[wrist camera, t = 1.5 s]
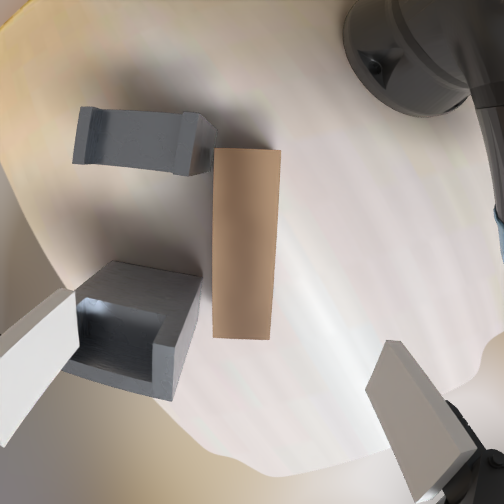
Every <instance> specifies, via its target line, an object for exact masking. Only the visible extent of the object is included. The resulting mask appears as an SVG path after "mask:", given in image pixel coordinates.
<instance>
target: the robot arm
mask: <svg viewBox="0 0 504 504" xmlns="http://www.w3.org/2000/svg"><path fill="white" fill-rule="evenodd" d="M343 41H344V47H345V51H346V54H347V57H348V60H349V62H350V64H351V66H352V68H353V70H354V72H355V73H356V75H357V76H358V78H359V79H360V81H361V82H362V83H363V84H364V86H365V87H366V88H367V89H368V90H369V91H370V92H371V93H372V94H373V95H374V96H375V97H376V98H378V99H379V100H380V101H381V102H383V103H384V104H386V105H387V106H389V107H391V108H392V109H394V110H396V111H398V112H401V113H403V114H406V115H410V116H415V117H432V116H437V115H443V114H446V113H449V112H451V111H453V110H455V109H456V108H458V107H459V106H460V105H461V104H462V103H463V102H464V101H465V100H466V99H467V97H468V96H469V95H471V96H472V99H473V102H474V105H475V110H476V113H477V117H478V120H479V124H480V127H481V131H482V135H483V139H484V143H485V147H486V152H487V156H488V161H489V166H490V171H491V176H492V182H493V189H494V196H495V207H494V209H493V210H494V218H495V221H496V223H497V225H498V231H499V239H500V248H501V255H502V260H503V263H504V0H358V1H357V2H356V3H355V4H354V6H353V7H352V9H351V10H350V12H349V13H348V15H347V17H346V20H345V23H344V28H343ZM79 347H80V346H79V337H78V326H77V315H76V300H75V291H72V290H68V289H64V288H59V289H58V290H57V291H55V292H54V293H53V294H51V295H50V296H49V297H48V298H46V299H45V300H44V301H42V302H41V303H40V304H39V305H38V306H36V307H35V308H34V309H33V310H31V311H30V312H29V313H28V314H26V315H25V316H24V317H23V318H21V319H20V320H19V321H18V322H16V323H15V324H14V325H13V326H12V327H10V328H9V329H8V330H7V331H6V332H5V333H3V334H2V335H1V334H0V445H1V446H2V447H5V446H6V444H7V443H8V441H9V440H10V438H11V437H12V435H13V434H14V432H15V431H16V430H17V428H18V427H19V425H20V424H21V422H22V421H23V420H24V418H25V417H26V415H27V414H28V413H29V411H30V410H31V409H32V407H33V406H34V404H35V403H36V402H37V400H38V399H39V398H40V396H41V395H42V394H43V392H44V391H45V390H46V388H47V387H48V386H49V384H50V383H51V382H52V381H53V379H54V378H55V377H56V375H57V374H58V373H59V372H60V370H61V369H62V368H63V366H64V365H65V364H66V363H67V361H68V360H69V359H70V358H71V356H72V355H73V354H74V353H75V351H76V350H77V349H78V348H79ZM365 391H366V393H367V395H368V397H369V399H370V401H371V404H372V406H373V408H374V410H375V412H376V414H377V417H378V419H379V421H380V423H381V425H382V428H383V430H384V432H385V434H386V437H387V439H388V441H389V443H390V446H391V448H392V450H393V452H394V455H395V457H396V459H397V462H398V464H399V466H400V468H401V471H402V473H403V476H404V478H405V480H406V482H407V485H408V487H409V490H410V492H411V495H412V497H413V499H414V502H415V503H420V502H424V501H427V500H431V499H433V498H434V497H435V496H436V495H437V494H438V493H439V492H440V491H441V490H443V492H444V494H445V495H444V496H443V498H441V499H440V500H439V501H438V502H437V503H436V504H504V454H503V453H502V452H499V451H498V450H495V449H489V450H486V449H485V448H484V446H483V445H482V443H481V442H480V440H479V439H478V437H477V436H476V434H475V433H474V432H473V430H472V429H471V427H470V426H468V423H467V421H466V420H465V419H464V418H463V416H462V415H461V413H460V412H459V410H458V409H457V408H456V407H455V406H454V405H453V404H451V403H450V402H449V401H448V400H444V398H443V397H442V396H441V394H440V393H439V391H438V390H437V389H436V387H435V386H434V385H433V383H432V382H431V381H430V379H429V378H428V376H427V375H426V374H425V372H424V371H423V370H422V368H421V367H420V366H419V364H418V363H417V362H416V360H415V359H414V358H413V356H412V355H411V354H410V353H409V351H408V350H407V349H406V347H405V346H404V345H403V343H402V342H401V341H391V340H386V342H385V344H384V347H383V349H382V352H381V354H380V357H379V359H378V362H377V364H376V366H375V369H374V371H373V373H372V376H371V378H370V380H369V382H368V384H367V387H366V389H365Z"/></svg>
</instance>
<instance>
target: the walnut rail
mask: <svg viewBox="0 0 504 504" xmlns="http://www.w3.org/2000/svg"><path fill="white" fill-rule="evenodd" d="M280 163H281V150H266V149H241V148H214V177H213V225H212V318H213V338H229V339H255V340H269V339H270V326H271V312H272V299H273V284H274V269H275V254H276V238H277V221H278V203H279V184H280Z"/></svg>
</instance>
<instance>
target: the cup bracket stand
mask: <svg viewBox="0 0 504 504" xmlns="http://www.w3.org/2000/svg"><path fill="white" fill-rule="evenodd" d="M216 136H217V129H216V128H215V127H214V126H213V125H212V124H210V123H209V122H208V121H207V120H206V119H205V118H204V117H203V116H202V115H201V114H200V113H194V112H183V114H174V113H163V112H149V111H132V110H104V109H99V108H95V107H81V108H80V113H79V119H78V125H77V131H76V138H75V145H74V153H73V162H72V164H83V165H85V164H100V165H111V166H121V167H130V168H139V169H148V170H156V171H164V172H172V173H173V174H175V175H182V176H193V175H197V174H201V173H206V172H210V171H211V165H212V159H213V153H214V147H215V141H216ZM202 280H203V277H198V276H192V275H187V274H181V273H176V272H170V271H165V270H159V269H154V268H148V267H143V266H138V265H133V264H127V263H122V262H117V261H111V262H110V263H108V264H107V265H106V266H105V267H103V268H102V269H101V270H99V271H98V272H97V273H96V274H94V275H93V276H92V277H91V278H89V279H88V280H87V281H86V282H84V283H83V284H82V285H81V286H79V287H78V288H77V289H76V290H75V300H76V315H77V326H78V337H79V346H80V347H79V348H78V349H77V350H76V351H75V353H74V354H73V355H72V356H71V358H70V359H69V360H68V361H67V363H66V364H65V365H64V366H63V368H62V369H61V370H62V371H64V372H67V373H70V374H73V375H76V376H79V377H82V378H85V379H88V380H91V381H95V382H98V383H101V384H104V385H108V386H111V387H114V388H118V389H122V390H125V391H129V392H133V393H137V394H142V395H145V396H149V397H153V398H158V399H162V400H167V401H171V402H172V401H173V397H174V394H175V391H176V387H177V384H178V381H179V378H180V374H181V371H182V368H183V365H184V362H185V358H186V355H187V352H188V349H189V346H190V343H191V339H192V336H193V333H194V330H195V327H196V324H197V321H198V313H199V305H200V296H201V288H202Z"/></svg>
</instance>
